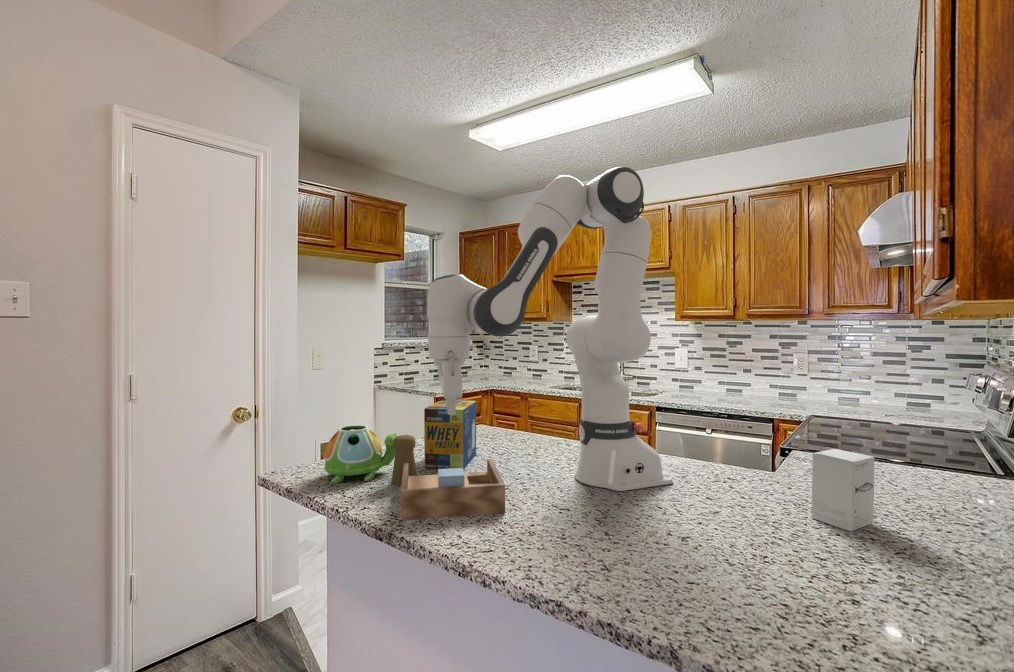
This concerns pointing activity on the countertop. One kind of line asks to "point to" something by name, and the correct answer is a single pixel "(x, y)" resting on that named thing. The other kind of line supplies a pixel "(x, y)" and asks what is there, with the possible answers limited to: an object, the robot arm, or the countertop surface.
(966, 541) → the countertop surface
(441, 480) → the slate block
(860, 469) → the supplement box
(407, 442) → the cork
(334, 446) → the turtle holder
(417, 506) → the tray
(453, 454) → the protein box
